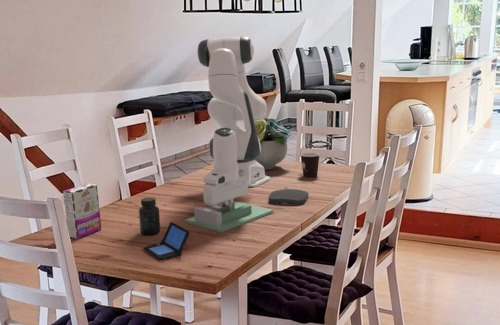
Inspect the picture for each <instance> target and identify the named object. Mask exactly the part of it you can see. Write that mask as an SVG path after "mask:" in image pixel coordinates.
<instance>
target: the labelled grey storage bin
mask: <svg viewBox="0 0 500 325" xmlns="http://www.w3.org/2000/svg"><path fill="white" fill-rule="evenodd" d="M207 208H208V209H212V210H214V211H218V212H221V214H222V213H224V212H227V211H229V206H227V205H222V203H219V204H216V205H213V206H211V205H210V206H207Z"/></svg>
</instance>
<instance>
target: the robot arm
mask: <svg viewBox="0 0 500 325" xmlns="http://www.w3.org/2000/svg"><path fill="white" fill-rule="evenodd" d="M254 46H255V45H254V44H253V41H252V40H251V39H250V38H249V37H248V36H223V37H217V38H212V39H207V38H206V39H204V40H202V41H200V42H199V43H198V45H197V50H196V55H197V58H198V61H199V63H200V64H201V65H202V66H203V67H205V68H206V67H207V68H208V72H207V73H208V76H207V79H208V88H209V92H210V94H211V96H212V98H211V99H210V100H209V102H208V104H207V112H208V115H209V117H210V119H211V120H213V121H215V122H216V123H217V124H218V126H219V127H220V128H218V129H215V130H214V132H213V137H212V138H211V139H210V140H209V156H210V157H211V158H212V159H214V162H213V169H212V170H211V171H210V172H208V173H207V174H206V175H205V176H204V177H203V182H204V185H203V192H202V194H203V202H204V204H205V205H207V206H210V207H211V206H214V205H217V204H222V205H227V206H229V211H230V210H231V206H232V203H233V201H234V199H236V198H239V197H242V196H245V195H247V194H248V193H249V187H250V188H252V187H253V188H254V187H255V188H256V187H258V186H260V185H261V184H264V183H266V182H268V181H271V177H270V176H268V175H266V171H265V170H264V167H263V166H262V165H261V164H259V163H258V162H257V161H255V160H254V159H256V158H257V157H258V156H259V155H260V151H261V144H260V141H259V138H258V135H257V132H256V128H255V123H254V121H256V120H262V119H264V117H265V116H266V114H267V111H268V106H267V103H266V100H265V99H264V98H263V97H261V96H260V95H259V94H257V93H255V92H254V90H253V89H252V88H251V87H250V85H249V83H248V79H247V74H246V68H245V67H246V66H245V64H248V63H250V62H251V61H252V60H253V57H254V55H255V47H254ZM238 122H242V123H243V125H244V128H245V130H244V128H242V127H240V126H239V125H238Z"/></svg>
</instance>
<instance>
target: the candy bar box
mask: <svg viewBox="0 0 500 325" xmlns="http://www.w3.org/2000/svg"><path fill="white" fill-rule="evenodd" d="M98 193H99V192H98V184H96V183H89V182H88V183H84V184H80V185H78V186H74V187H71V188H69V189H65V190H63V191H62V194H63V202H64V210H65V220H66V227H67V226H68V229H67V231H68V230H69V234H70V237H71V239H76V240H79V239H82V238H84V237H87V236H89V235H91V234H94V233H96V232H98V231H100V230H102V222H101V213H100V203H99V194H98ZM86 235H87V236H86ZM83 236H84V237H83ZM70 237H69V238H70ZM81 237H82V238H81ZM78 238H79V239H78Z"/></svg>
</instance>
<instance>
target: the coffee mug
mask: <svg viewBox="0 0 500 325" xmlns="http://www.w3.org/2000/svg"><path fill="white" fill-rule="evenodd" d="M300 160H301V168H302V176H303V177H304V178H317V177H318V173H319V172H318V171H319V163H320V153H318V152H317V153H316V152H304V153H301V154H300Z"/></svg>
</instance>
